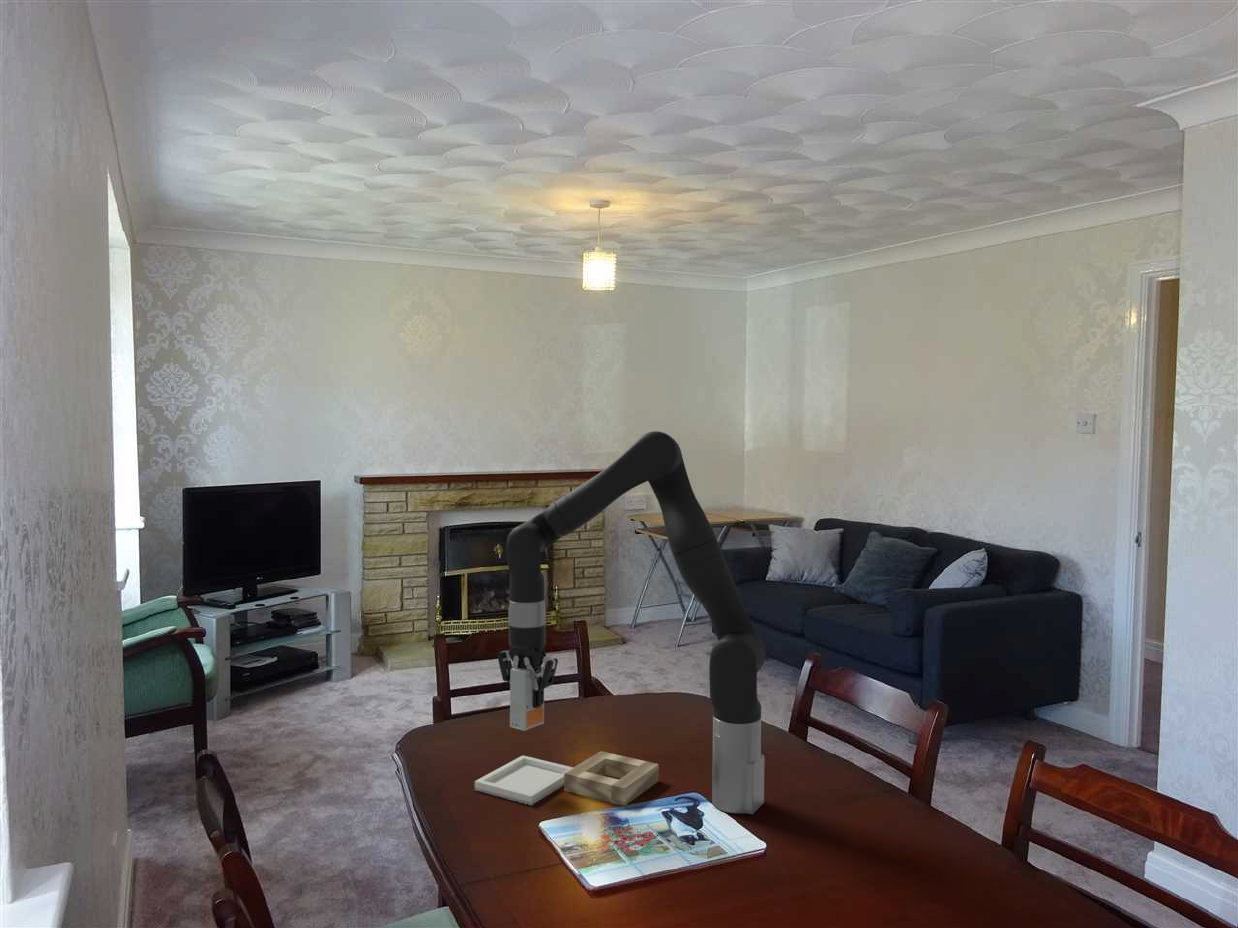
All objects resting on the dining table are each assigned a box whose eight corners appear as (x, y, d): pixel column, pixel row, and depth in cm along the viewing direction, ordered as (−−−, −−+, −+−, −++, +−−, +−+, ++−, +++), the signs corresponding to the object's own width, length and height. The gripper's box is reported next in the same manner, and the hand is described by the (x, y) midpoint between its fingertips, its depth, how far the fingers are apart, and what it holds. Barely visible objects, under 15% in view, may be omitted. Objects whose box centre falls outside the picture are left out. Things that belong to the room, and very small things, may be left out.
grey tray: (576, 776, 182) (576, 768, 182) (531, 805, 168) (531, 796, 168) (522, 763, 189) (522, 755, 189) (474, 789, 175) (474, 781, 175)
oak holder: (658, 780, 180) (658, 764, 180) (624, 806, 168) (624, 788, 168) (600, 766, 187) (600, 750, 187) (564, 790, 175) (564, 773, 175)
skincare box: (524, 731, 174) (524, 672, 174) (509, 727, 177) (509, 668, 176) (545, 723, 179) (545, 665, 179) (529, 719, 182) (529, 662, 181)
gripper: (566, 622, 177) (566, 705, 177) (510, 614, 184) (510, 694, 185) (545, 629, 170) (545, 716, 171) (487, 621, 177) (487, 704, 178)
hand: (527, 704), depth 178 cm, fingers closed on skincare box, 4 cm apart
